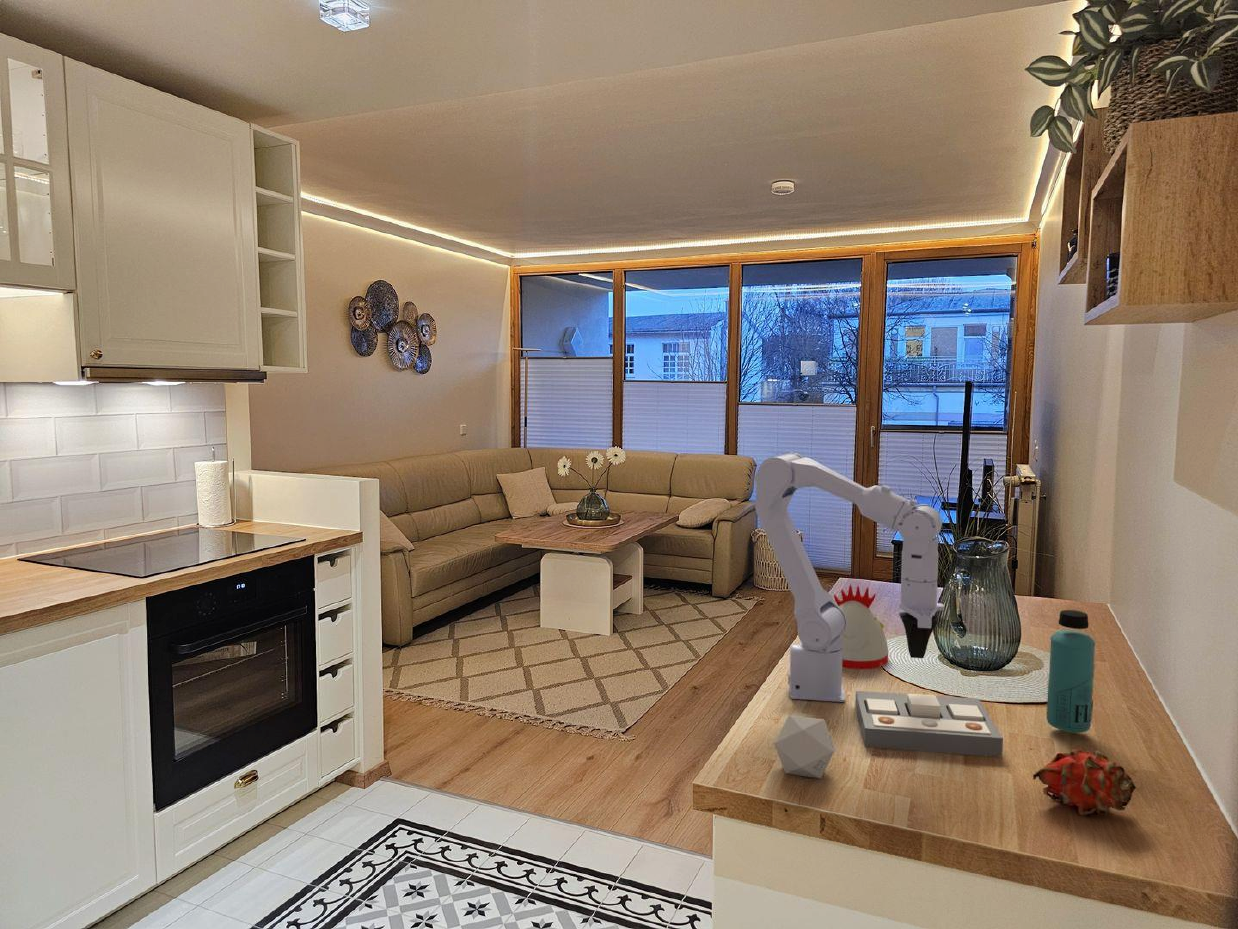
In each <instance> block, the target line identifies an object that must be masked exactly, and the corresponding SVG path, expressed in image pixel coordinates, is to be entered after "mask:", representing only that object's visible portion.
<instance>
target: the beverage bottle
mask: <svg viewBox="0 0 1238 929" xmlns="http://www.w3.org/2000/svg"><path fill="white" fill-rule="evenodd" d="M1058 625H1060V626H1062V627H1064V629H1059V630H1058V631H1056V632H1054V633H1053V634H1052V635H1050V637H1049V638H1050V652H1049V653H1050V654H1049V671H1048V672H1049V673H1048V676H1047V677H1048V679H1047V682H1046V683H1047V688H1046V689H1047V693H1046V695H1047V701H1046V702H1045V703H1046V704H1045V705H1046V707H1045V713H1046V716H1045V717H1046V720H1047V723H1048V725H1050V726H1051V727H1053V728H1055V729H1057V730H1060V731H1064V732H1069V733H1076V734H1077V733H1087V732H1088V731H1089V730H1090V728H1091V726H1092V724H1093V718H1092V715H1093V707H1094V703H1093V702H1094V700H1093V696H1094V695H1093V692H1094V690H1093V687H1094V684H1093V683H1094V677H1095V670H1096V667H1095V666H1096V665H1095V648H1096V641H1095V640H1094V639H1093V638H1092V637H1091V636H1090V634H1088V633H1087V632H1084V631H1081V630H1086V629H1088V628H1089V615H1088V613H1086V612H1083V611H1080V610H1076V609H1064V610H1061V611H1060V612H1059V618H1058ZM1065 628H1067V629H1065Z"/></svg>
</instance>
